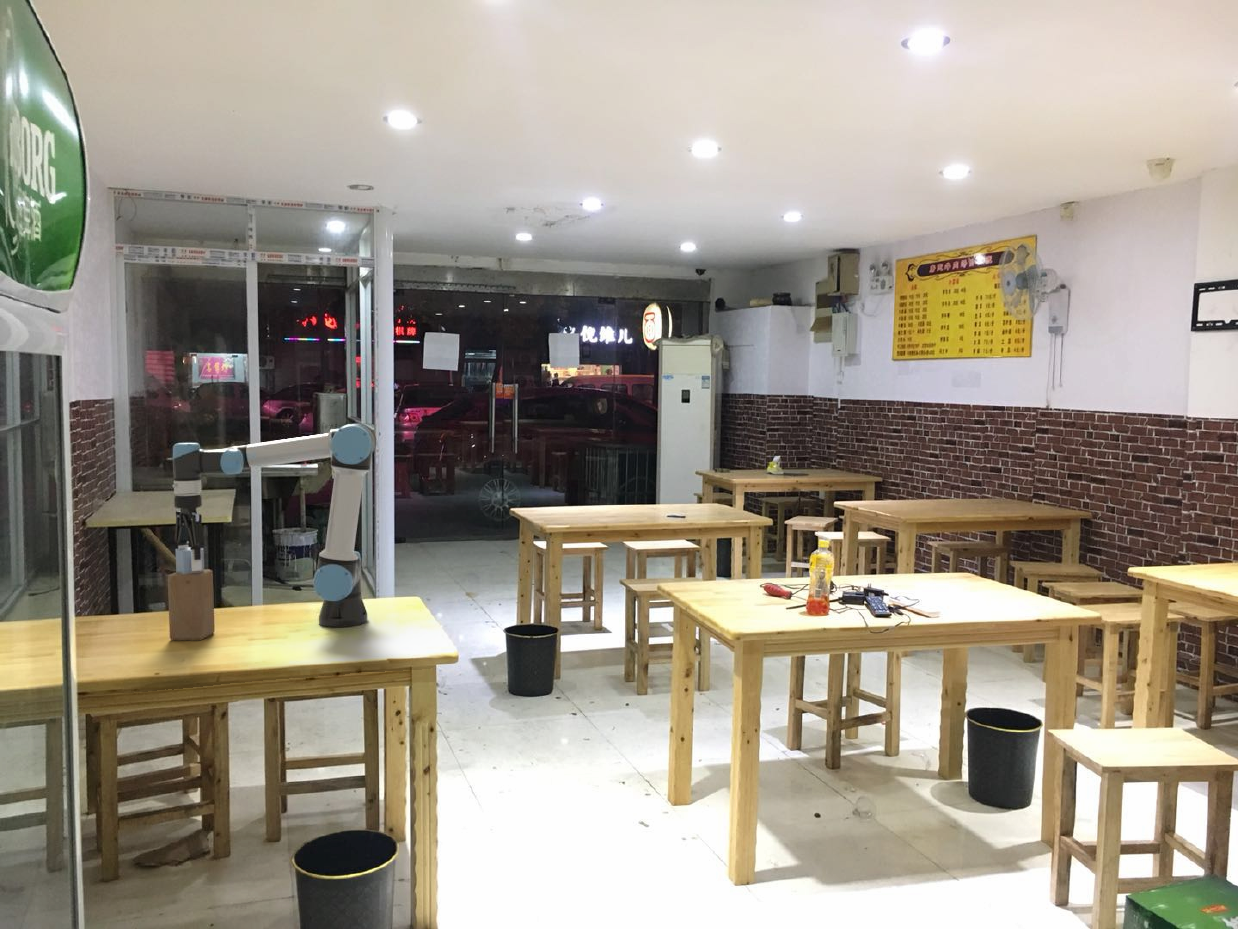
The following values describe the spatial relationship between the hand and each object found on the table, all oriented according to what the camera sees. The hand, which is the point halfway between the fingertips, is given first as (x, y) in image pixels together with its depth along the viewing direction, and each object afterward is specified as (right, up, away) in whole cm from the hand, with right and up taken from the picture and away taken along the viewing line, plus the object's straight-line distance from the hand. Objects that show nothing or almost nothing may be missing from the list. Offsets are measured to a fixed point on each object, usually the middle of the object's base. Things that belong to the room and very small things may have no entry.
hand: (190, 568), depth 294 cm
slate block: (0, -1, 0) cm, 1 cm away
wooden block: (0, -21, +2) cm, 21 cm away
